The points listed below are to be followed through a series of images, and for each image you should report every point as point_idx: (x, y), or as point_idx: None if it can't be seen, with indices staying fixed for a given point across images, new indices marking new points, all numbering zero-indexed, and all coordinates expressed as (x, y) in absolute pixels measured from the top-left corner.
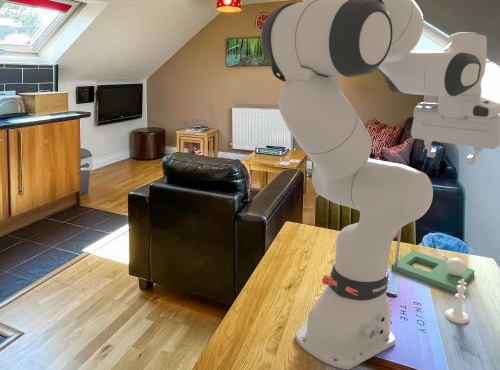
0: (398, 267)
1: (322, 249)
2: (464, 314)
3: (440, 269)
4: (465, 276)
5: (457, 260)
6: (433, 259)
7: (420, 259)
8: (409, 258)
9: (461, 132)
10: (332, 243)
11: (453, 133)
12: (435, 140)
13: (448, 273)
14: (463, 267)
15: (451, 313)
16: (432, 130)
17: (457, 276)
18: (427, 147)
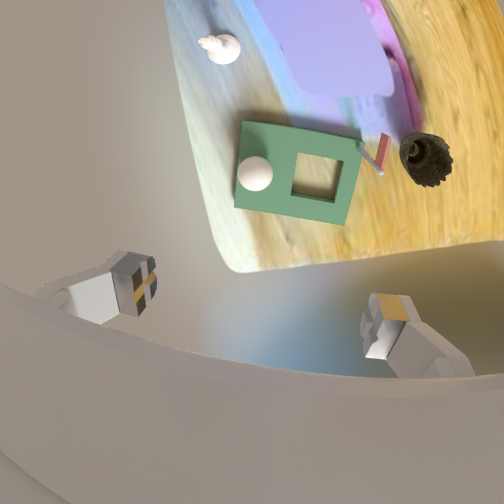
0: (351, 139)
1: (478, 157)
2: (212, 52)
3: (283, 174)
4: None
5: (250, 173)
6: (303, 207)
7: (324, 200)
8: (342, 187)
9: (55, 445)
10: (470, 190)
11: (169, 469)
12: (407, 381)
13: None
14: (239, 167)
15: (229, 41)
16: (469, 476)
17: None
18: (433, 338)
